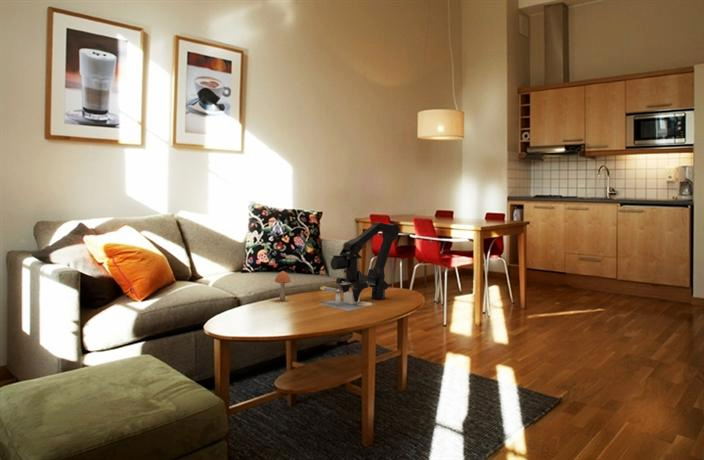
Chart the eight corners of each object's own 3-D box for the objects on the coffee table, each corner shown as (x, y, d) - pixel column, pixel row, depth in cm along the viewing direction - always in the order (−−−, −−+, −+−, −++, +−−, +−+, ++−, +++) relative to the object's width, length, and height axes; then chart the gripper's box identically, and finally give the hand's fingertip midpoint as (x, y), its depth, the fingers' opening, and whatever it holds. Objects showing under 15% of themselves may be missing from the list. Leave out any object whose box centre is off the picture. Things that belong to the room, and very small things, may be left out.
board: (346, 300, 254) (346, 285, 254) (376, 306, 240) (376, 291, 240) (317, 306, 241) (317, 291, 240) (347, 313, 227) (347, 297, 226)
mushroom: (288, 302, 247) (287, 272, 246) (272, 302, 249) (272, 271, 248) (293, 299, 255) (293, 269, 254) (278, 298, 257) (277, 269, 256)
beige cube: (351, 300, 248) (351, 290, 247) (359, 302, 244) (359, 291, 243) (343, 302, 244) (343, 291, 243) (351, 304, 240) (351, 293, 240)
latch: (343, 292, 237) (343, 289, 237) (338, 293, 234) (338, 290, 234) (324, 288, 245) (324, 286, 245) (319, 289, 242) (319, 287, 242)
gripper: (377, 269, 239) (376, 302, 241) (354, 264, 255) (354, 295, 256) (357, 271, 233) (357, 304, 234) (335, 266, 248) (335, 297, 250)
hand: (351, 300), depth 244 cm, fingers open, 7 cm apart
